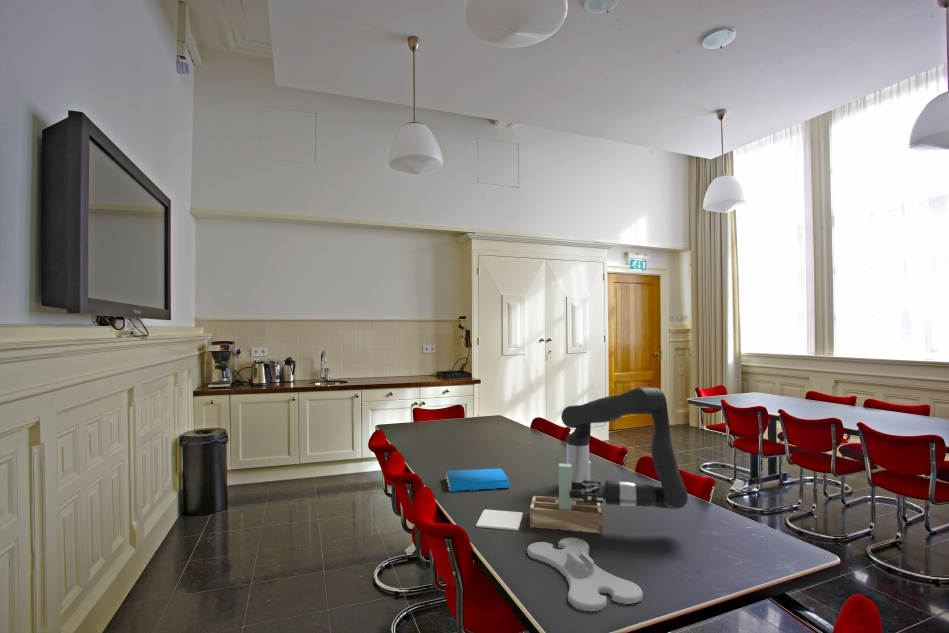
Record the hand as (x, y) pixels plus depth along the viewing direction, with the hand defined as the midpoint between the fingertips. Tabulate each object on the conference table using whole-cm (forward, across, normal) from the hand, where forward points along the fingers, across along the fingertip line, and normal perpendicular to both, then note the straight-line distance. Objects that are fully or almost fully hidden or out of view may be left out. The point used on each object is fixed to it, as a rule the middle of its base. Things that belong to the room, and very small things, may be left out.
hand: (569, 489), depth 155 cm
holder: (-3, +30, +13) cm, 32 cm away
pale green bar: (+1, 0, +12) cm, 12 cm away
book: (+39, -36, +13) cm, 55 cm away
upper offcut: (+1, -6, +9) cm, 11 cm away
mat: (+23, 0, +12) cm, 26 cm away
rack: (+1, -3, +12) cm, 12 cm away
